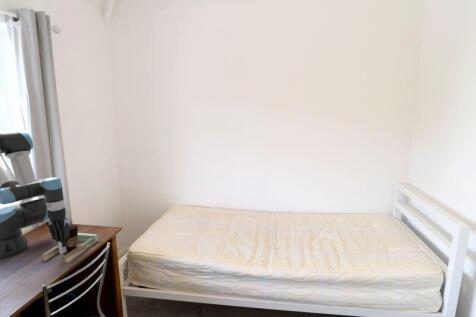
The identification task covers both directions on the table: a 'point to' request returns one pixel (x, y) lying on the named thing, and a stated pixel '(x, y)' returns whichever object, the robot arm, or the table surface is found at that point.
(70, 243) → the coffee cup
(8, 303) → the table surface
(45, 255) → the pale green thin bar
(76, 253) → the rail outer
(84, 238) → the backstop
